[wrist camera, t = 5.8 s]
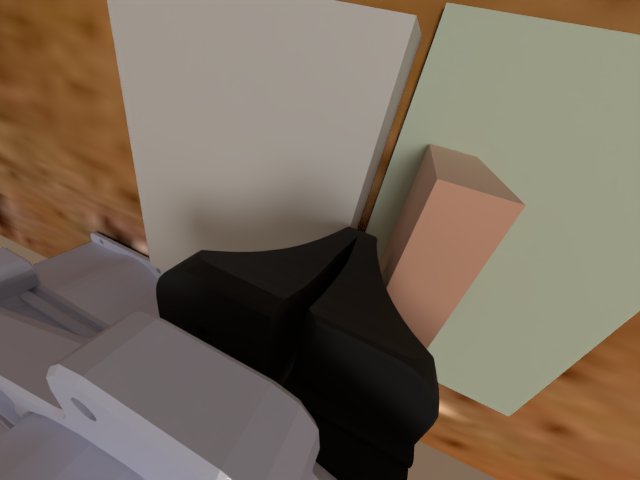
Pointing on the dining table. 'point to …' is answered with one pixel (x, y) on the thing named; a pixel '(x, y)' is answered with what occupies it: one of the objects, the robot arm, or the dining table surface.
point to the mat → (531, 192)
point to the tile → (444, 237)
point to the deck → (256, 116)
